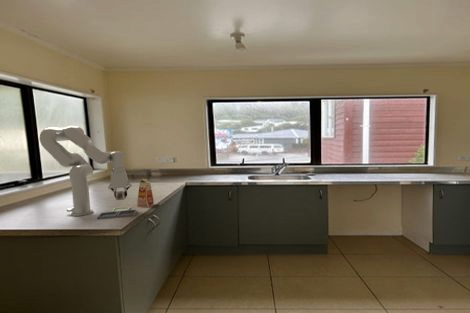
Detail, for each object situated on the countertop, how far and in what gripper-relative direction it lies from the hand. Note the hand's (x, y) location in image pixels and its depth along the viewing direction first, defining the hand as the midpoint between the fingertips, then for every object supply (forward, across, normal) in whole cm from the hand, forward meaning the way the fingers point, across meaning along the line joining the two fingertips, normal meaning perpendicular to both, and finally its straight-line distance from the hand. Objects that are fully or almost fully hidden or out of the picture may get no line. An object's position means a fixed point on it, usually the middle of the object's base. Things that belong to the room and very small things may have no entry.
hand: (121, 197), depth 179 cm
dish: (+9, 0, 0) cm, 9 cm away
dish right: (+10, +5, -11) cm, 15 cm away
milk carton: (+10, +14, +10) cm, 20 cm away
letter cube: (+1, 0, 0) cm, 1 cm away
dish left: (+9, -6, -11) cm, 16 cm away
